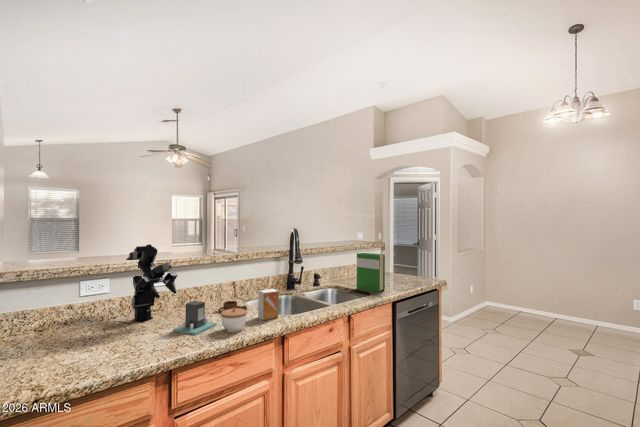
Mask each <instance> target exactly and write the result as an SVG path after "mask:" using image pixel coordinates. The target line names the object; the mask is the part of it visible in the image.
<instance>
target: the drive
mask: <svg viewBox="0 0 640 427" xmlns="http://www.w3.org/2000/svg"><path fill="white" fill-rule="evenodd" d="M205 307H206V304H205V301H198V300H197V301H196V300H192V301H189V302H187V303H185V318H184V319H185V320H184V321H185V323H186V326H185V327H189V328H190V324H193V328H196V329H197V328H199V327H201V326H203V325H205V316H206V310H205V309H206V308H205Z"/></svg>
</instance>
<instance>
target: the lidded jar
mask: <svg viewBox="0 0 640 427" xmlns="http://www.w3.org/2000/svg"><path fill="white" fill-rule="evenodd" d="M221 311H222V312H221V313H220V316H221V317H220V318H221V319H220V321H221V324H222V327H223V329H225V331H226V332H228V333H237V332H240V331H241V330H242V329H243V327H245V325H246V322H247V313H248V311H246V310H244V309H239V308H236V309H235V308H233V309H228V310H224V309H223V310H221Z"/></svg>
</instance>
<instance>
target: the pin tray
mask: <svg viewBox="0 0 640 427" xmlns="http://www.w3.org/2000/svg"><path fill="white" fill-rule="evenodd" d="M208 320H209V319H208V317H205V325H203V326H201V327H199V328H197V329H196V328H193V324H190V328H189V327H185V326H186V323H185V322H184V321H183V322H182V323H181V325H179V326H177V327H175V328H173V329H172V332H174V333H180V334H181V333H182V334H187V335H193V336H198V335H199V334H202V333H204V332H206V331H208V330H211V329H212V328H214V327H216V326H217V322H211V321H208Z"/></svg>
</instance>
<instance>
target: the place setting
mask: <svg viewBox="0 0 640 427" xmlns="http://www.w3.org/2000/svg"><path fill="white" fill-rule="evenodd" d="M233 308H235V309H236V308H237V309H244V310H246V311H247V309H248V306H247V305H238V302H237V301H236V300H228V301H224V302H223V305H222V306H221V307H219V308H218V310H217V311H218V312H217V311H216V310H215V311H213V312H212V314H214V315H215V314H217V313H220V314H221V312H222V311H224V310H228V309H233ZM247 312H248V311H247Z"/></svg>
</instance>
